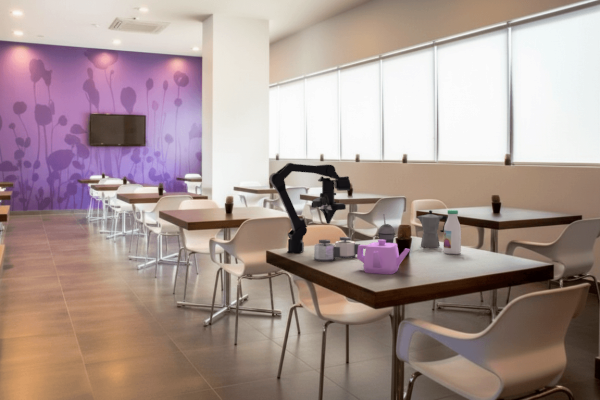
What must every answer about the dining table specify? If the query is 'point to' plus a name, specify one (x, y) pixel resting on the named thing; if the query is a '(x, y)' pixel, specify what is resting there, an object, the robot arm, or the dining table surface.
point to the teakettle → (381, 257)
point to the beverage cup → (386, 232)
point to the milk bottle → (452, 234)
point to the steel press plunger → (324, 241)
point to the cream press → (347, 248)
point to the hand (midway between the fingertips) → (328, 223)
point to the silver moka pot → (326, 252)
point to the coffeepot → (430, 229)
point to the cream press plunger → (345, 239)
